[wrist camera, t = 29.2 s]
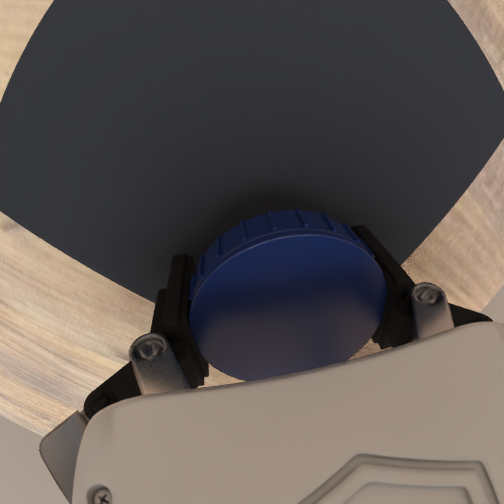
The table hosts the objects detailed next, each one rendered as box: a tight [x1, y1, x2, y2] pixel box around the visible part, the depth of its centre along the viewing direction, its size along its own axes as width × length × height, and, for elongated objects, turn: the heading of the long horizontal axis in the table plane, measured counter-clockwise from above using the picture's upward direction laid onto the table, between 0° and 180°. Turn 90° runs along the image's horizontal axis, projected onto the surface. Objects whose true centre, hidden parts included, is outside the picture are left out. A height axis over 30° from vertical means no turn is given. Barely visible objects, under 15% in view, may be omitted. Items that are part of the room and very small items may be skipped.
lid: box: [189, 208, 387, 381], centre depth 10 cm, size 6×6×2 cm
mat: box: [0, 0, 504, 304], centre depth 10 cm, size 20×20×1 cm
